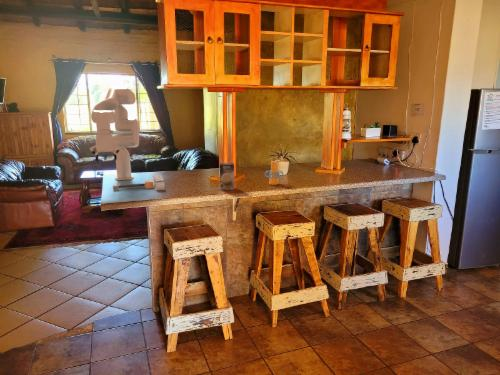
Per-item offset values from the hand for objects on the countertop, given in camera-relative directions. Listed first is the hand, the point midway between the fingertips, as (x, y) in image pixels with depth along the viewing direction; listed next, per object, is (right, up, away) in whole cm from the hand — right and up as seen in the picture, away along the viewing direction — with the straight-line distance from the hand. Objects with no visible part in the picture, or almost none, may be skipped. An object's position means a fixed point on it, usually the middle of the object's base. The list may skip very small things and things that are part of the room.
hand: (106, 161), depth 220 cm
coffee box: (+72, -17, +9) cm, 74 cm away
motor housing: (+27, -15, +16) cm, 35 cm away
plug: (+13, -16, +11) cm, 23 cm away
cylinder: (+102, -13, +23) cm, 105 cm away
